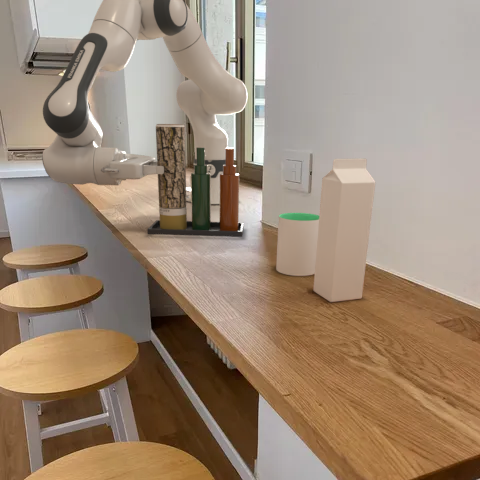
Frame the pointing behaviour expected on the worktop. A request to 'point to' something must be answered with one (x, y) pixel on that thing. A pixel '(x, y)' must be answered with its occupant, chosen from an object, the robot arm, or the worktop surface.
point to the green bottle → (201, 193)
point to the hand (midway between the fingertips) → (167, 168)
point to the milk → (343, 230)
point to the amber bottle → (229, 195)
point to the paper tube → (172, 176)
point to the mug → (297, 243)
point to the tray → (188, 231)
